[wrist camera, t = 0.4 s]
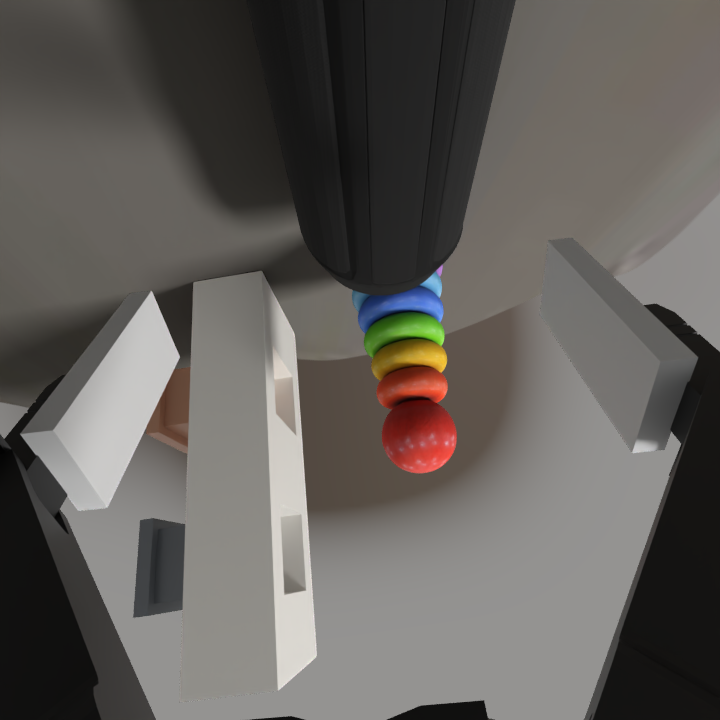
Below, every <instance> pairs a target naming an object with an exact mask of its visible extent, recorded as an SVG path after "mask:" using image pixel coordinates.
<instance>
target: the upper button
mask: <svg viewBox="0 0 720 720" xmlns="http://www.w3.org/2000/svg"><path fill="white" fill-rule="evenodd" d="M138 546H139V547H138V560H137V574H136V587H135V601H134V616H133V617H142V616H149V615H155V614H161V613H166V612H172V611H178V610H183V580H184V550H185V524H180V523H175V522H169V521H165V520H159V519H154V518H152V519H145V520H140V532H139V545H138Z"/></svg>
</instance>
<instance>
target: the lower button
mask: <svg viewBox="0 0 720 720" xmlns="http://www.w3.org/2000/svg"><path fill="white" fill-rule="evenodd" d="M190 369H191V367H187V368H181V369H174V370H173V373H172V375H171V377H170V379H169V381H168V383H167V385H166V387H165V389H164V391H163V393H162V395H161V397H160V399H159V402H158V404H157V406H156V408H155V410H154V412H153V414H152V416H151V418H150V420H149V422H148V424H147V432H146V434H148V435H150V436H152V437H154V438H156V439H158V440H160V441H162V442H164V443H166V444H168V445H170V446H172V447H174V448H176V449H178V450H180V451H182V452H184V453H186V454H188V429H189V399H190Z"/></svg>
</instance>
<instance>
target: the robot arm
mask: <svg viewBox="0 0 720 720" xmlns="http://www.w3.org/2000/svg"><path fill="white" fill-rule="evenodd" d="M540 316H541V317H542V319H543V320H544V322H545V323H546V325H547V326H548V328H549V329H550V331H551V332H552V334H553V335H554V337H555V338H556V340H557V341H558V343H559V344H560V346H561V347H562V349H563V350H564V352H565V353H566V355H567V356H568V358H569V359H570V361H571V362H572V364H573V365H574V367H575V368H576V370H577V371H578V373H579V374H580V376H581V377H582V379H583V380H584V382H585V383H586V385H587V386H588V388H589V389H590V391H591V392H592V394H593V395H594V397H595V398H596V400H597V401H598V403H599V404H600V406H601V407H602V409H603V410H604V412H605V413H606V415H607V416H608V418H609V419H610V421H611V422H612V424H613V425H614V427H615V428H616V430H617V431H618V433H619V434H620V436H621V437H622V439H623V440H624V442H625V443H626V445H627V446H628V448H629V449H630V450H631V452H632V453H638V452H647V451H657V450H664V449H665V447H666V444H667V442H668V439H669V436H670V433H671V431H672V432H673V434H674V435H675V436H676V437H677V439H678V440H679V441H680V443H681V447H680V449H679V451H678V454H677V457H676V459H675V462H674V464H673V467H672V469H671V472H670V474H669V476H670V477H669V480H668V483H667V485H666V488H665V491H664V494H663V497H662V500H661V503H660V505H659V508H658V511H657V514H656V517H655V520H654V523H653V525H652V528H651V532H650V534H649V537H648V540H647V543H646V545H645V548H644V551H643V554H642V557H641V560H640V563H639V565H638V568H637V571H636V574H635V577H634V580H633V583H632V585H631V588H630V591H629V594H628V597H627V600H626V603H625V605H624V608H623V611H622V614H621V617H620V620H619V623H618V625H617V628H616V631H615V634H614V637H613V640H612V642H611V646H610V648H609V651H608V654H607V657H606V660H605V662H604V665H603V668H602V671H601V674H600V677H599V680H598V682H597V685H596V688H595V691H594V694H593V697H592V699H591V702H590V705H589V708H588V711H587V713H586V716H585V719H584V720H720V352H719V351H718V350H717V349H716V348H714V347H713V346H712V345H711V344H710V343H709V342H708V341H706V340H705V339H704V338H703V337H702V336H701V335H700V334H699V335H697V332H696V331H695V330H694V329H693V328H692V327H691V326H687V323H686V322H685V321H684V320H683V319H682V318H681V317H679V316H678V315H677V314H676V313H675V312H673V311H671V310H668V309H666V308H664V307H662V306H660V305H658V304H650V305H642V304H641V303H640V302H639V301H638V300H637V299H636V298H635V297H634V296H633V295H632V294H631V293H630V292H629V291H628V290H627V289H626V288H625V287H624V286H623V285H621V284H620V283H619V282H618V281H617V280H616V279H615V278H614V277H613V276H612V275H611V274H610V273H609V272H608V271H607V270H606V269H605V268H604V267H603V266H602V265H600V264H599V263H598V262H597V261H596V260H595V259H594V258H593V257H592V256H591V255H590V254H589V253H588V252H587V251H586V250H585V249H584V248H583V247H582V246H580V245H579V244H578V243H577V242H576V241H575V240H574V239H573V238H565V239H557V240H549V241H548V245H547V254H546V263H545V271H544V280H543V288H542V297H541V306H540ZM179 358H180V356H179V354H178V351H177V349H176V347H175V344H174V342H173V340H172V337H171V335H170V333H169V330H168V328H167V326H166V323H165V321H164V318H163V316H162V314H161V311H160V309H159V307H158V304H157V302H156V300H155V297H154V295H153V293H152V291H145V292H137V293H129V295H128V296H127V297H126V299H125V300H124V301H123V302H122V304H121V305H120V306H119V308H118V309H117V310H116V311H115V313H114V314H113V315H112V317H111V318H110V319H109V320H108V322H107V323H106V324H105V326H104V327H103V328H102V329H101V331H100V332H99V333H98V335H97V336H96V337H95V338H94V340H93V341H92V342H91V344H90V345H89V346H88V347H87V349H86V350H85V351H84V353H83V354H82V355H81V356H80V358H79V359H78V360H77V362H76V363H75V364H74V365H73V367H72V368H71V369H70V371H69V372H68V373H67V374H66V375H62V376H61V377H59V378H58V379H57V380H55V381H54V382H53V383H51V384H50V385H49V386H47V387H46V388H45V389H44V391H43V392H42V393H41V394H40V396H39V397H38V398H37V399H36V403H33V404H32V406H31V407H30V408H29V409H28V413H25V414H24V416H23V417H22V418H21V419H20V420H19V422H18V423H17V424H16V425H15V427H14V428H13V429H12V430H11V432H10V433H9V434H8V435H7V437H6V438H5V439H3V437H2V436H1V435H0V720H156V719H155V717H154V714H153V712H152V710H151V707H150V705H149V703H148V701H147V699H146V696H145V694H144V692H143V689H142V687H141V685H140V683H139V680H138V678H137V676H136V674H135V671H134V669H133V667H132V665H131V662H130V660H129V658H128V656H127V653H126V651H125V649H124V647H123V644H122V642H121V640H120V638H119V635H118V633H117V631H116V629H115V626H114V624H113V622H112V620H111V618H110V615H109V613H108V611H107V608H106V606H105V604H104V602H103V599H102V597H101V595H100V593H99V590H98V588H97V586H96V584H95V581H94V579H93V577H92V575H91V572H90V570H89V568H88V566H87V563H86V561H85V559H84V557H83V554H82V552H81V550H80V548H79V545H78V543H77V541H76V538H75V536H74V534H73V532H72V529H71V528H70V525H69V523H68V520H67V518H66V517H65V515H64V514H63V513H62V512H61V510H60V507H61V505H62V504H63V502H64V500H65V499H66V497H68V498H69V499H70V501H71V502H72V503H73V505H74V506H75V507H76V509H77V510H78V511H83V510H92V509H102V508H107V507H108V505H109V503H110V501H111V499H112V497H113V495H114V493H115V490H116V489H117V486H118V485H119V482H120V480H121V478H122V476H123V474H124V472H125V470H126V468H127V466H128V464H129V462H130V460H131V458H132V455H133V453H134V451H135V449H136V447H137V445H138V443H139V441H140V439H141V437H142V435H143V433H144V431H145V429H146V426H147V424H148V422H149V420H150V418H151V416H152V414H153V412H154V410H155V408H156V406H157V404H158V402H159V399H160V397H161V395H162V393H163V391H164V389H165V387H166V385H167V383H168V381H169V379H170V377H171V375H172V373H173V370H174V368H175V366H176V364H177V362H178V360H179ZM252 720H304V719H300V718H296V717H292V716H290V717H289V716H288V717H277V718H264V719H252ZM387 720H493V719H489V718H488V717H487V712H486V708H485V703H484V701H473V702H460V703H448V704H436V705H424V706H419V707H416V708H414V709H412V710H409V711H407V712H405V713H402V714H399V715H397V716H395V717H393V718H390V719H387Z"/></svg>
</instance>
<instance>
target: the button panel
mask: <svg viewBox="0 0 720 720" xmlns="http://www.w3.org/2000/svg"><path fill="white" fill-rule="evenodd" d="M187 462H188V463H187V490H186V520H185V550H184V580H183V611H182V612H183V613H182V641H181V642H182V643H181V670H180V701H179V702H180V703H181V702H189V701H198V700H206V699H214V698H222V697H231V696H240V695H248V694H257V693H265V692H274V691H278V690H280V689H281V688H282V687H283V686H284V685H285V684H286V683H287V682H289V681H290V680H291V679H292V678H293V677H294V676H295V675H296V674H298V673H299V672H300V671H301V670H302V669H303V668H304V667H306V666H307V665H308V664H309V663H310V662H311V661H312V660H314V659H315V658H316V657H317V650H316V635H315V621H314V606H313V592H312V577H311V563H310V548H309V534H308V519H307V504H306V490H305V475H304V461H303V448H302V431H301V417H300V403H299V388H298V373H297V359H296V344H295V334H294V332H293V330H292V328H291V326H290V324H289V322H288V320H287V318H286V316H285V314H284V312H283V311H282V309H281V307H280V305H279V303H278V301H277V299H276V297H275V295H274V293H273V291H272V289H271V288H270V286H269V284H268V282H267V280H266V278H265V276H264V274H263V272H262V271H257V272H251V273H245V274H239V275H233V276H227V277H221V278H215V279H209V280H203V281H196V282H193V309H192V339H191V369H190V399H189V429H188V461H187Z"/></svg>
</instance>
